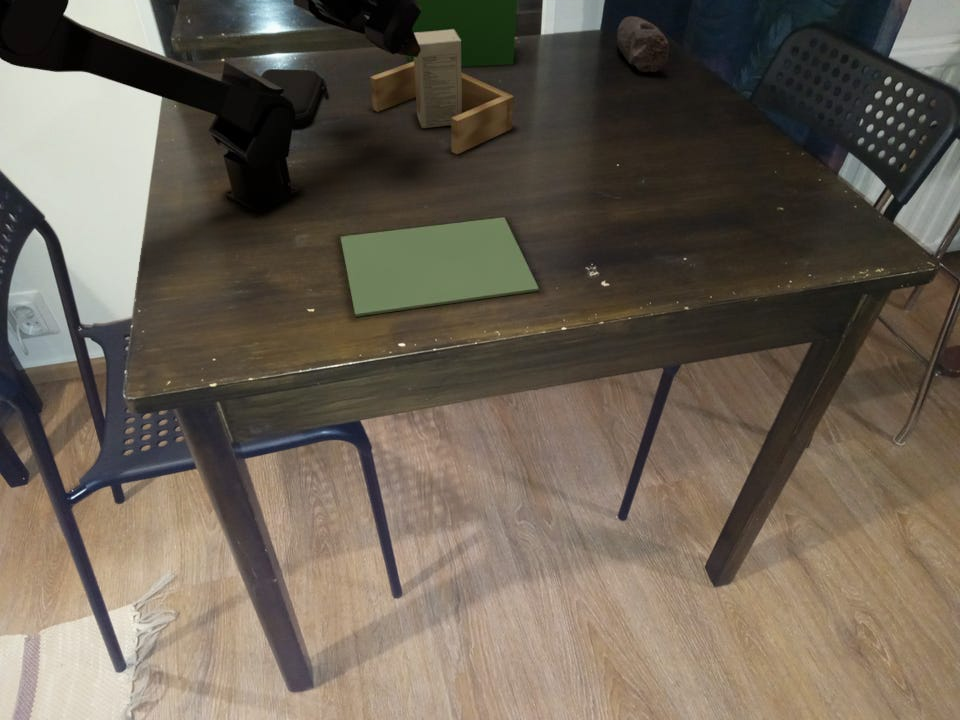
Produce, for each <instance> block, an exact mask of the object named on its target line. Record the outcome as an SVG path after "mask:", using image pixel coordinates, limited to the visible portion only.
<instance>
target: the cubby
mask: <svg viewBox="0 0 960 720" xmlns="http://www.w3.org/2000/svg"><path fill="white" fill-rule="evenodd" d="M369 79H370V89H371V91H370V92H371V102H372V110H373V111H375V112H377V113H379V112H381V111H384V110H386V109H389V108H391V107H392V108H393V107H394V106H397V105H399V104H402V103H404V102H407V101H410V100H413V99H416V88H415V71H414V61H413V62H411V63H409V62H408V63H405V64H402V65H399V66H397V67H394V68H391V69H389V70H385V71H383V72H380V73H377V74H374V75H372V76H370V77H369ZM461 85H462V114H459V115H457V116H455V117H452V118H451V125H450V129H451V131H450V134H451V135H450V137H451V138H450V145H451V146H450V147H451V148H450V150H451V151H450V152H451V153H453V154H455V155H459V154H462V153H464V152H466V151H468V150H470V149H472V148H474V147H476V146H479V145H481V144H483V143H485V142H487V141H489V140H491V139H493V138H496V137H498V136H500V135H502V134H504V133H507V132H508V131H511V130H512V129H513V118H514V117H513V116H514V103H515V102H514V101H515V96H514V95H512V94H510V93H508V92H506V91H503V90H502V89H499V88H497V87H495V86H492V85H491V84H487V83H486V82H483V81H481V80H479V79H477V78H475V77H472V76H470V75H468V74H466V73H464V72H462V71H461Z"/></svg>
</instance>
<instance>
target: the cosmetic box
mask: <svg viewBox="0 0 960 720" xmlns="http://www.w3.org/2000/svg"><path fill="white" fill-rule="evenodd" d="M414 34H415V37H416V39H417V41H418V44H419V46H420V49H421V51H420V53H419V55H418V56H417V57H414V71H415V88H416V97H415V104H416V105H415V106H416V116H417V120H418V122H419V125H420V128H421V129H428V128H429V129H430V128H439V127H445V126H446V127H447V126H451V118H452V117H455V116H457V115H459V114H462V113H463V110H462V85H461V72H462V67H461V40H460V38H459V36H458V34H457V33H456V31H455V30H454V29H451V30H438V31H428V32H417V33H414Z"/></svg>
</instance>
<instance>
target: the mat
mask: <svg viewBox="0 0 960 720" xmlns="http://www.w3.org/2000/svg"><path fill="white" fill-rule="evenodd" d="M340 241H341V242H340V243H341V246H342V247H341V248H342V253H343V254H342V255H343V258H344V259H343V260H344V264H345V269H346V273H347V274H346V275H347V279H348V286H349V290H350V291H349V292H350V295H351V302H352V305H353V306H352V307H353V311H354V317H356V318H357V317H364V316H365V317H366V316H371V315H378V314H379V315H380V314H385V313H392V312H398V311H399V312H400V311H406V310H414V309H421V308H427V307H436V306H443V305H449V304H450V305H451V304H455V303H463V302H470V301H477V300H484V299H491V298H499V297H506V296H512V295H522V294H526V293H534V292H539V289H540V287H539V286H538V283H537V282H536V279H535V277H534V276H533V273H532V272H531V269H530V267H529V265H528V264H527V261H526V259H525V257H524V255H523V253H522V250H521V248H520V246H519V244H518V242H517V240H516V237H515V236H514V234H513V232H512V230H511V228H510V226H509V224H508V222H507V220H506V218H505V216H503V217H495V218H487V219H486V218H485V219H478V220H470V221H462V222H453V223H452V222H451V223H445V224H436V225H427V226H419V227H411V228H403V229H402V228H401V229H394V230H385V231H378V232H376V231H375V232H369V233H361V234H352V235H344V236H340Z"/></svg>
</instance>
